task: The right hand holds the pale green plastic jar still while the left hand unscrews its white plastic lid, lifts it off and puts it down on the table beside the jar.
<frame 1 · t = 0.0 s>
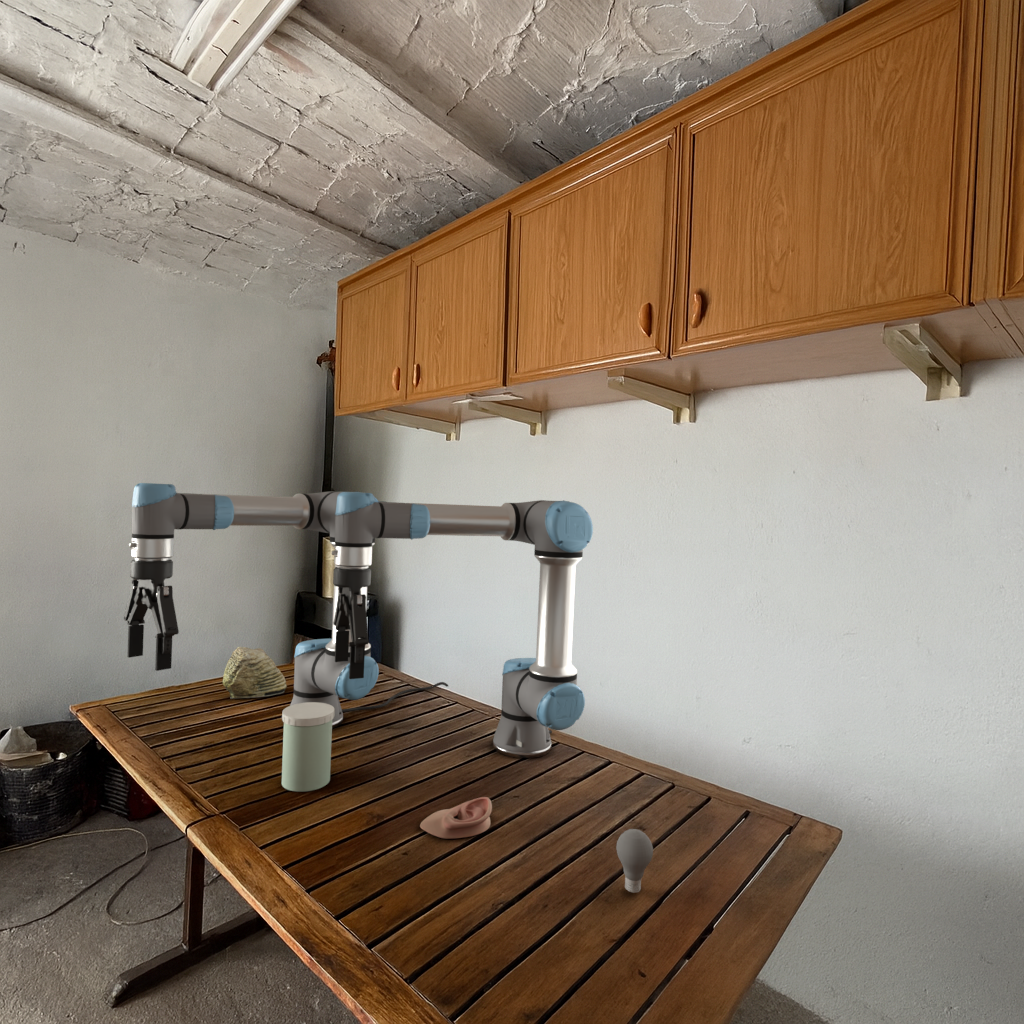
left hand: (148, 662, 129), 28 cm above the table, tool pointing down, fingers open, 13 cm apart
right hand: (348, 669, 131), 28 cm above the table, tool pointing down, fingers open, 13 cm apart
fossil: (254, 694, 198), on the table
jar: (306, 781, 141), on the table
light bulb: (632, 891, 106), on the table
lid: (308, 711, 140), point 16 cm above the table, screwed on, not yet turned
anatomical model: (456, 825, 125), on the table
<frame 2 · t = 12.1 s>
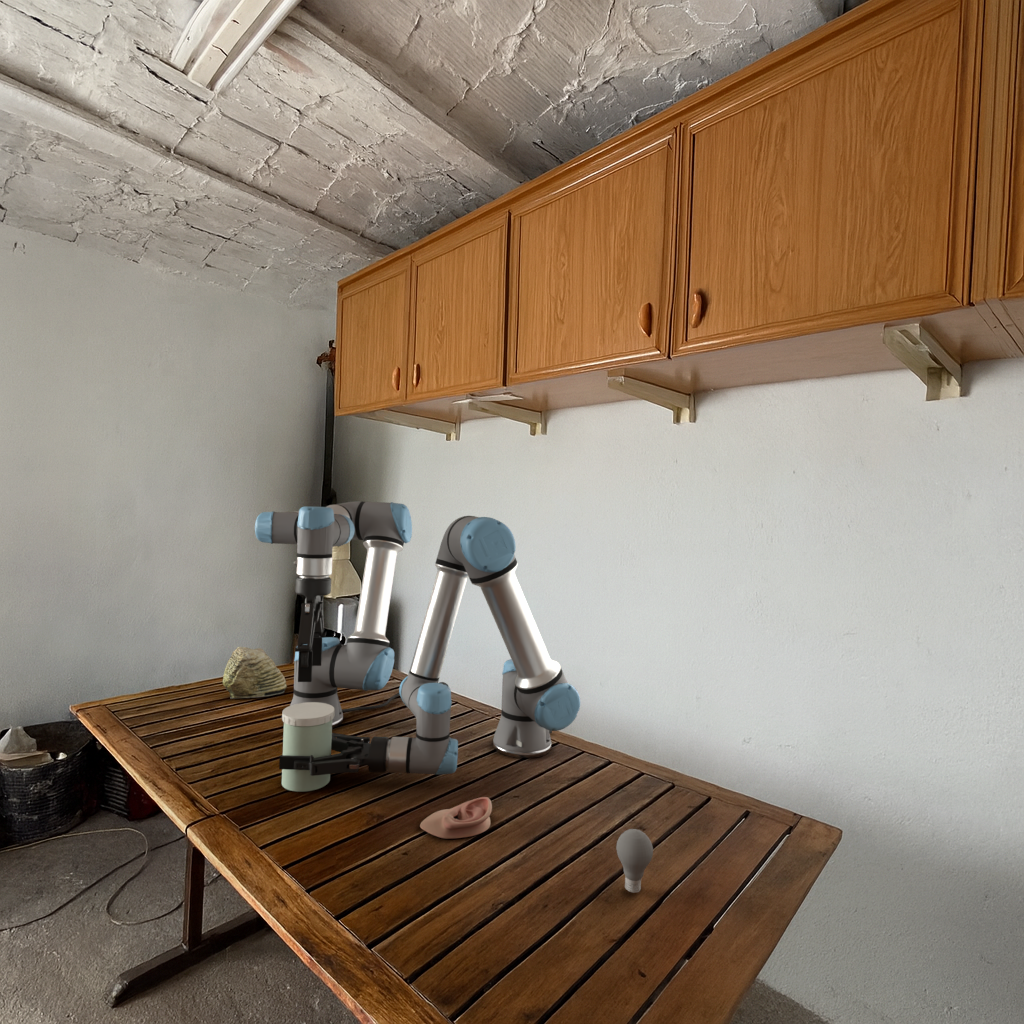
left hand: (310, 673, 140), 24 cm above the table, tool pointing down, fingers open, 12 cm apart
right hand: (288, 751, 140), 6 cm above the table, tool horizontal, fingers closed on jar, 10 cm apart
jar: (306, 781, 141), on the table, touching right hand
everything else where it was.
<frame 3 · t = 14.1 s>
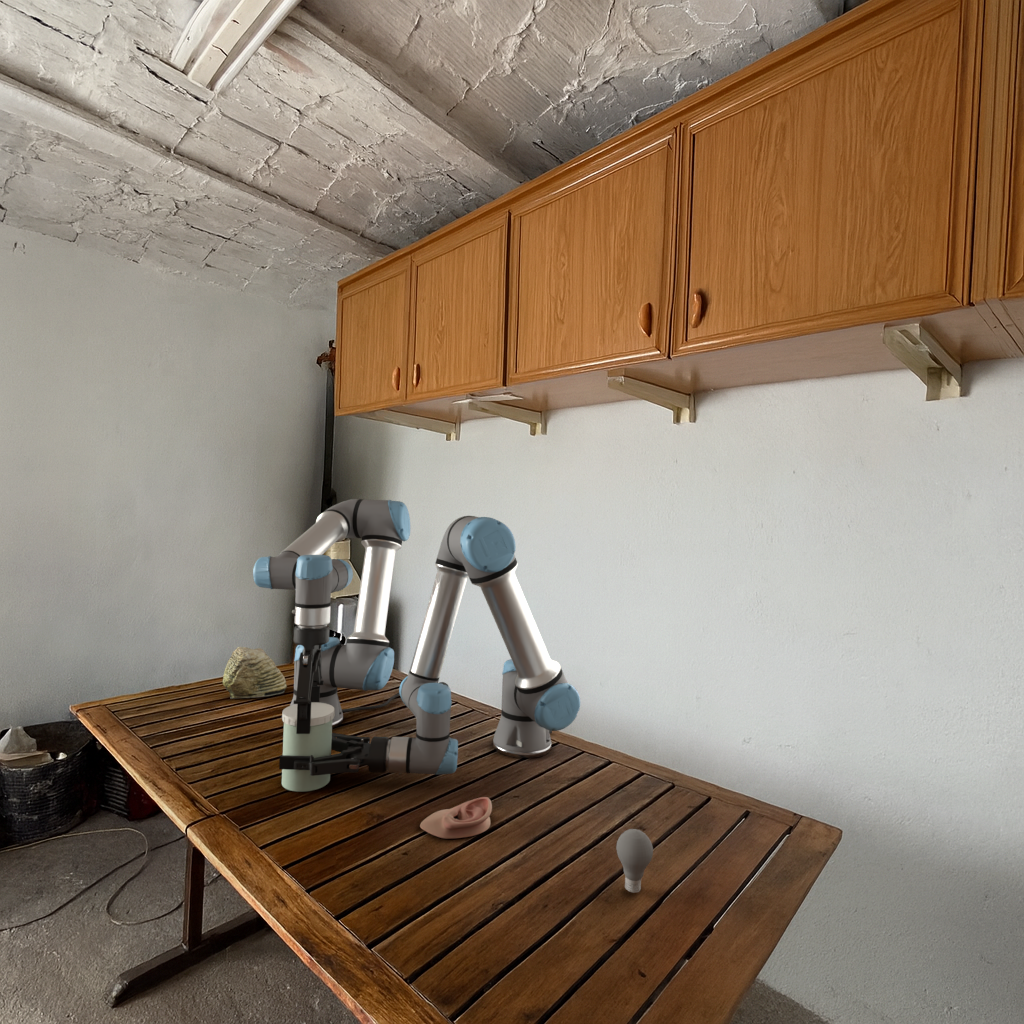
left hand: (308, 723, 141), 13 cm above the table, tool pointing down, fingers closed on lid, 11 cm apart
right hand: (288, 751, 140), 6 cm above the table, tool horizontal, fingers closed on jar, 10 cm apart
jar: (306, 781, 141), on the table, touching right hand
lid: (308, 711, 140), point 16 cm above the table, screwed on, not yet turned, touching left hand
everything else where it was.
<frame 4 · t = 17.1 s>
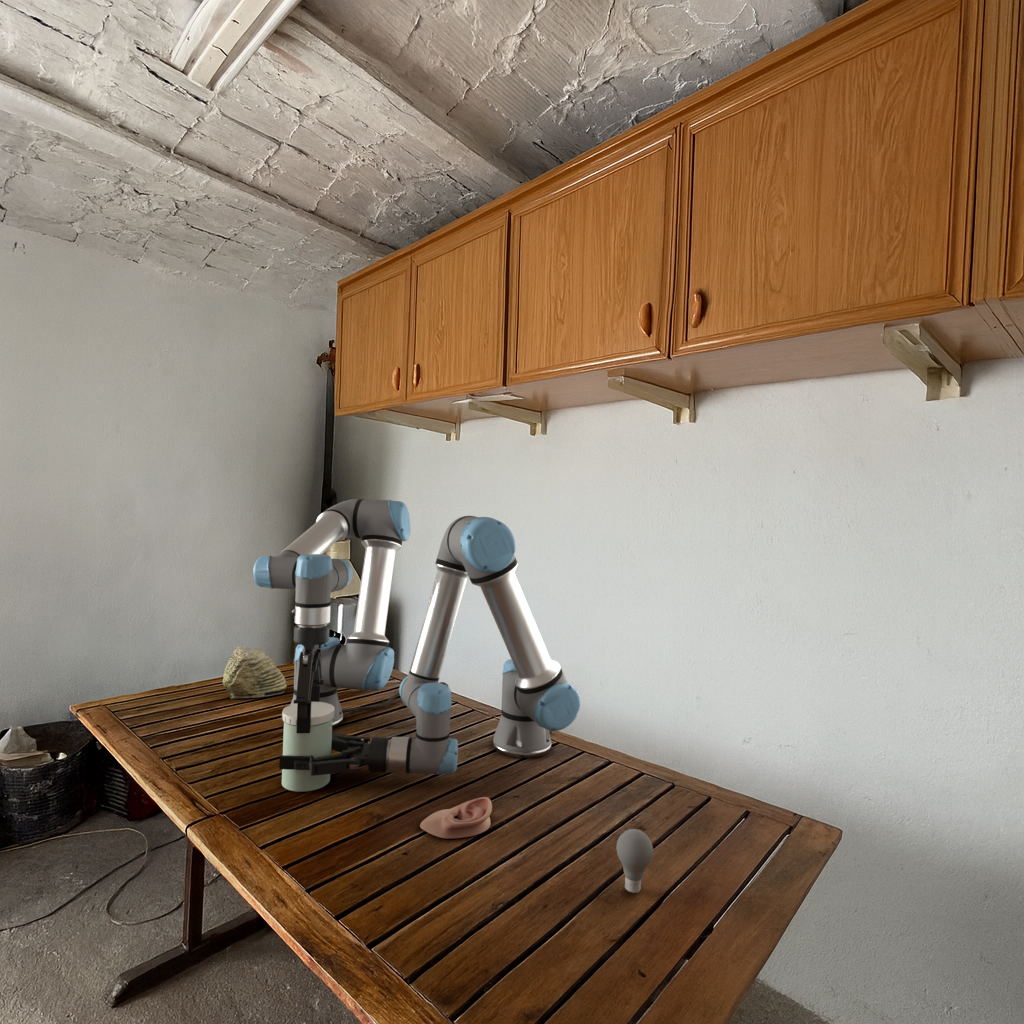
left hand: (308, 723, 141), 13 cm above the table, tool pointing down, fingers closed on lid, 11 cm apart
right hand: (288, 751, 140), 6 cm above the table, tool horizontal, fingers closed on jar, 10 cm apart
jar: (306, 781, 141), on the table, touching right hand
lid: (308, 710, 140), point 16 cm above the table, turned 89° so far, risen 0.2 cm, still on its thread, touching left hand
everything else where it was.
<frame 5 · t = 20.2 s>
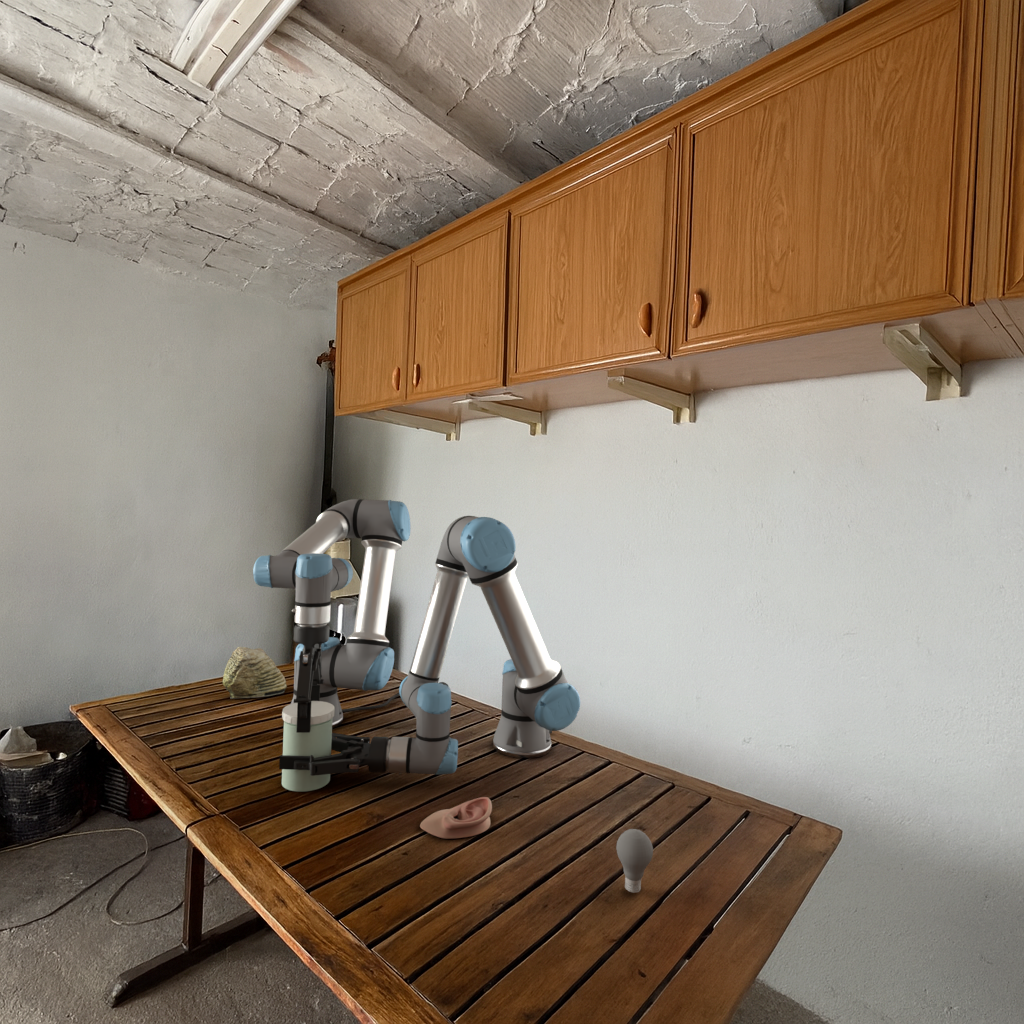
left hand: (308, 722, 141), 13 cm above the table, tool pointing down, fingers closed on lid, 11 cm apart
right hand: (288, 751, 141), 6 cm above the table, tool horizontal, fingers closed on jar, 10 cm apart
jar: (306, 781, 141), on the table, touching right hand
lid: (308, 710, 140), point 16 cm above the table, turned 178° so far, risen 0.3 cm, still on its thread, touching left hand
everything else where it was.
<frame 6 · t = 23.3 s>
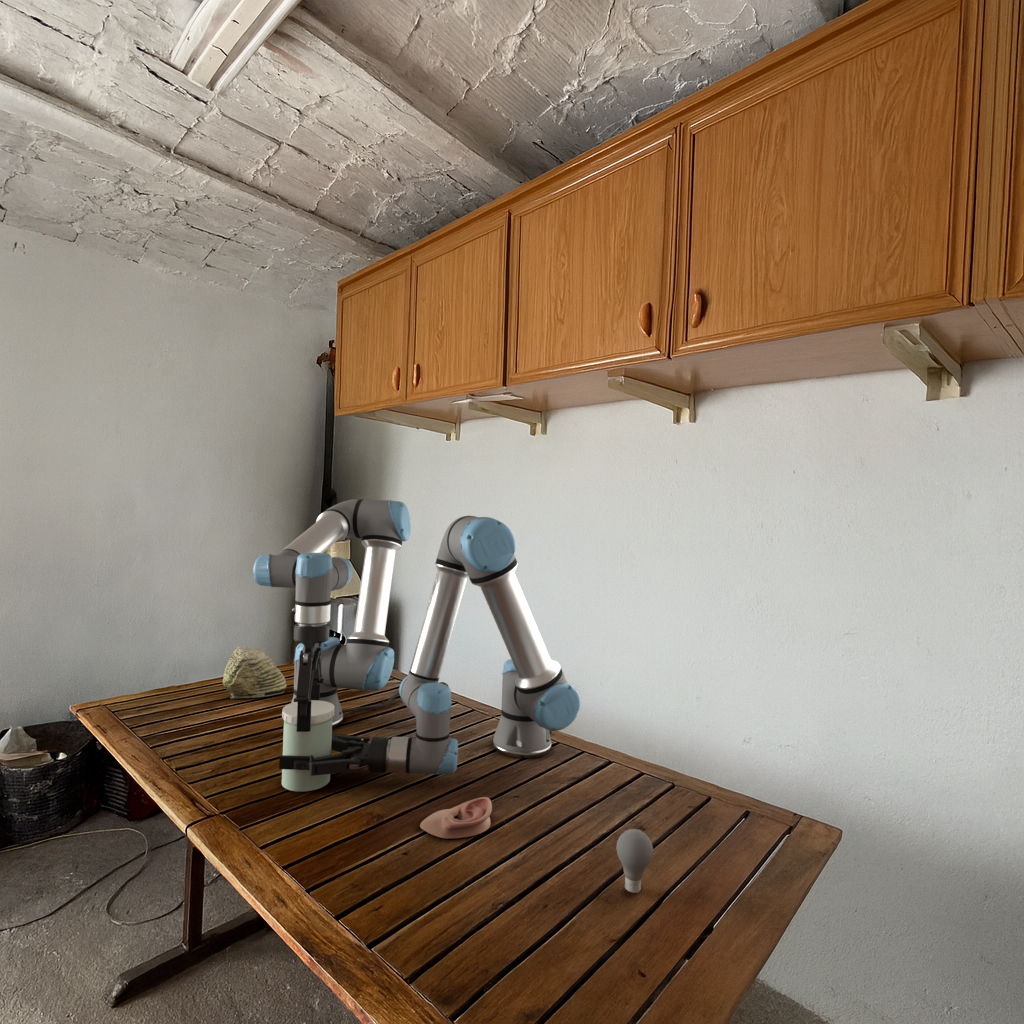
left hand: (308, 721, 141), 13 cm above the table, tool pointing down, fingers closed on lid, 11 cm apart
right hand: (288, 751, 141), 6 cm above the table, tool horizontal, fingers closed on jar, 10 cm apart
jar: (306, 780, 141), on the table, touching right hand
lid: (308, 709, 140), point 16 cm above the table, turned 267° so far, risen 0.5 cm, still on its thread, touching left hand
everything else where it was.
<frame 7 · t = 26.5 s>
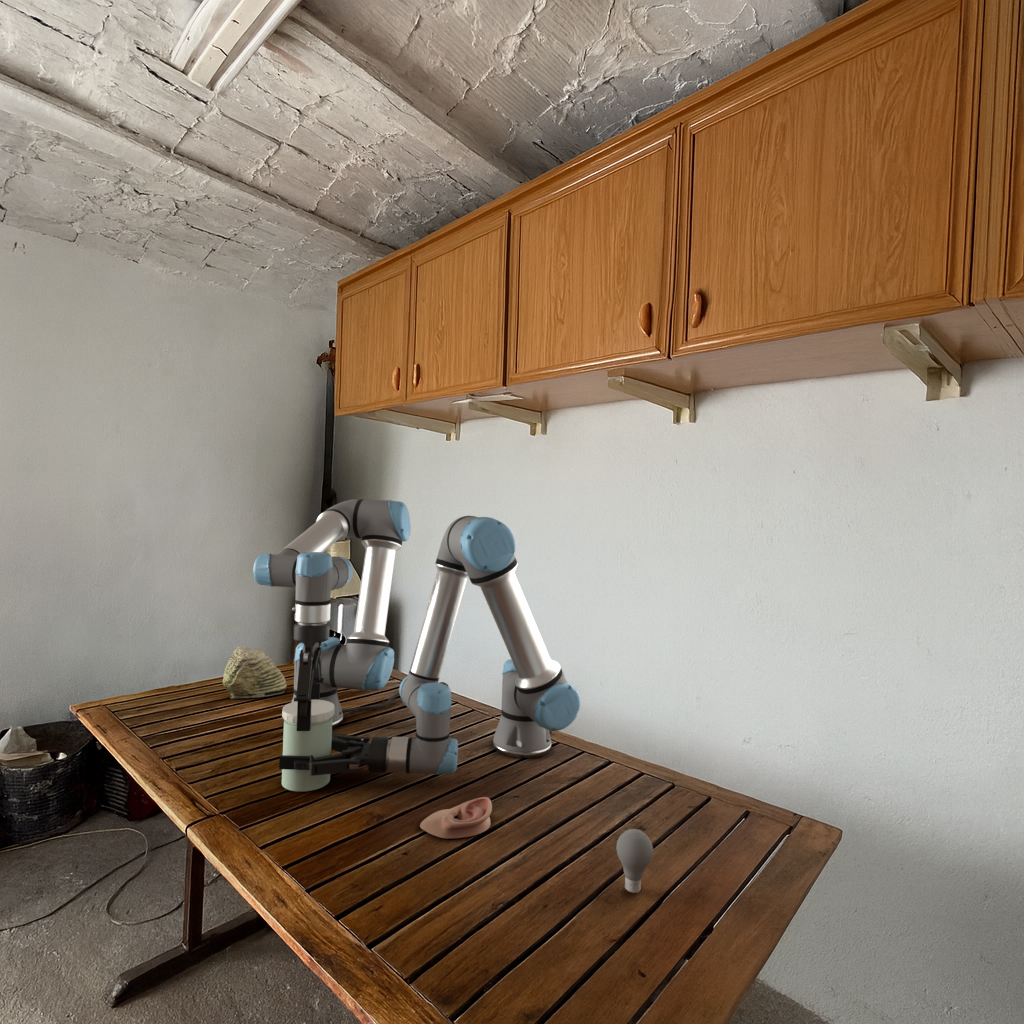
left hand: (308, 720, 141), 13 cm above the table, tool pointing down, fingers closed on lid, 11 cm apart
right hand: (288, 751, 141), 6 cm above the table, tool horizontal, fingers closed on jar, 10 cm apart
jar: (306, 780, 141), on the table, touching right hand
lid: (308, 708, 140), point 16 cm above the table, turned 356° so far, risen 0.6 cm, still on its thread, touching left hand
everything else where it was.
when the left hand's fingers open (0 cm above the table, at t = 34.1 s): lid drops 2 cm, point 1 cm above the table.
when the right hand's fingers open (6 cm above the table, at t = 35.1 s): jar stays where it is, on the table.
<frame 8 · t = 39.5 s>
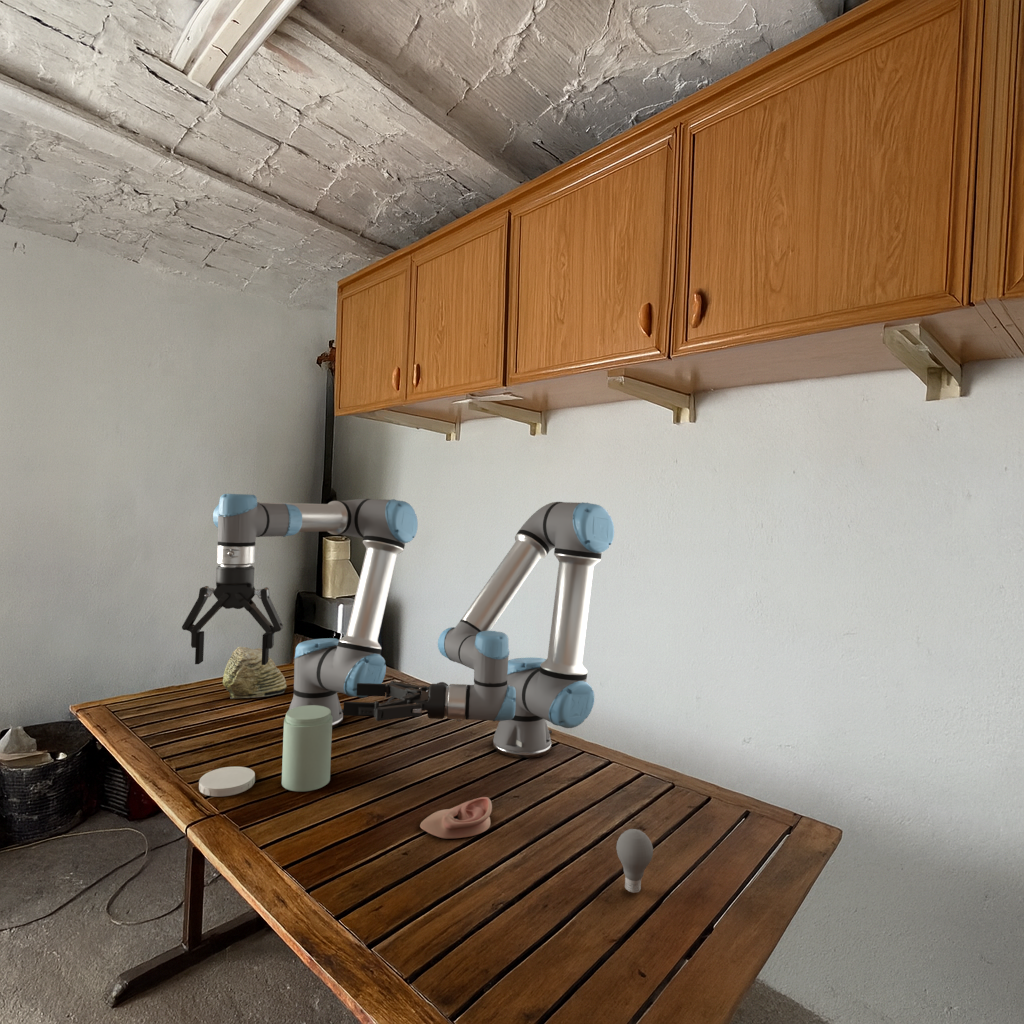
left hand: (232, 663, 137), 26 cm above the table, tool pointing down, fingers open, 13 cm apart
right hand: (350, 698, 141), 19 cm above the table, tool horizontal, fingers open, 13 cm apart
jar: (306, 780, 141), on the table
lid: (227, 778, 137), point 1 cm above the table, off its thread
everything else where it was.
at the end: lid came off its thread; lid point 1.3 cm above the table; the left hand is holding nothing; the right hand is holding nothing; jar tilted 0°; jar moved 0.0 cm from its start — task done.
